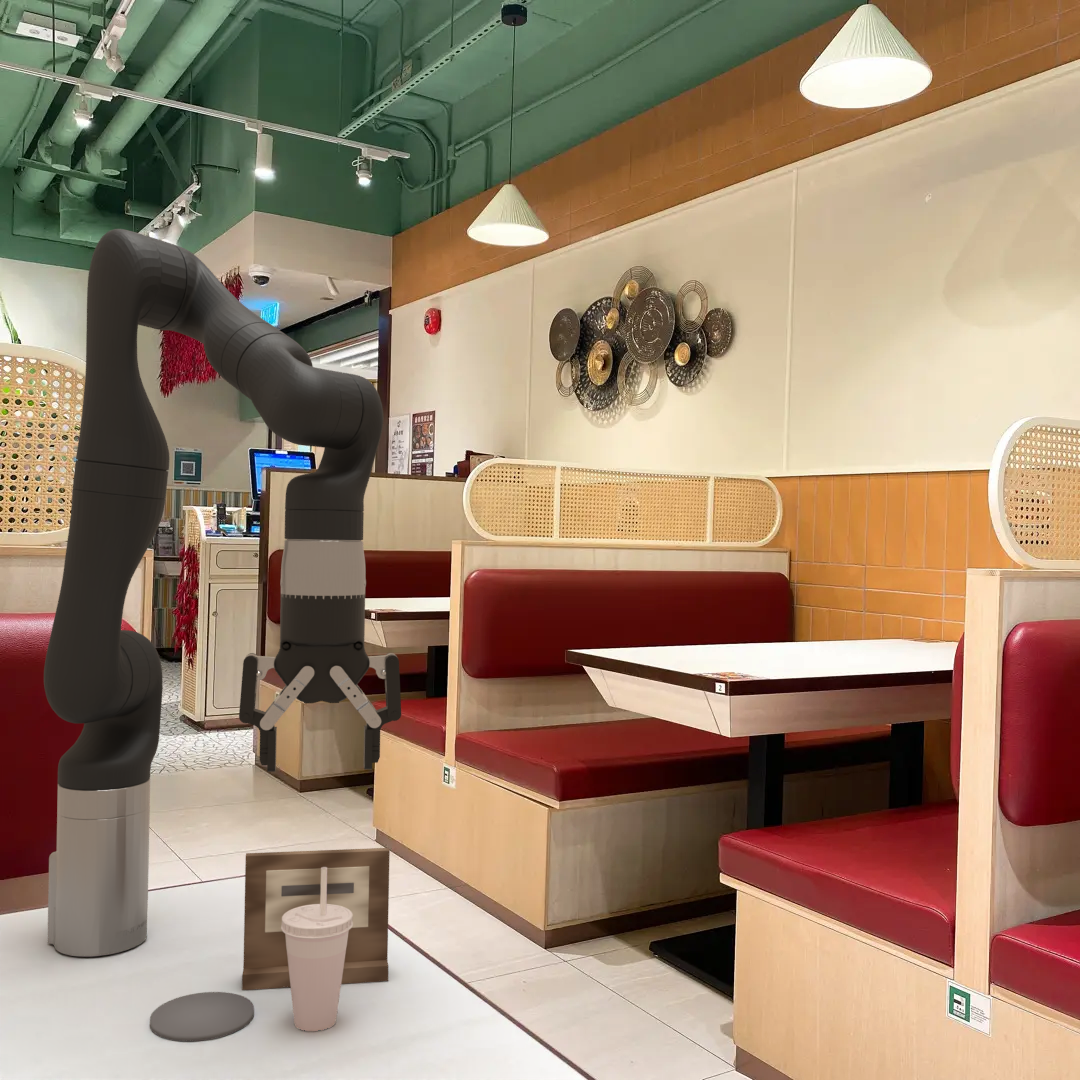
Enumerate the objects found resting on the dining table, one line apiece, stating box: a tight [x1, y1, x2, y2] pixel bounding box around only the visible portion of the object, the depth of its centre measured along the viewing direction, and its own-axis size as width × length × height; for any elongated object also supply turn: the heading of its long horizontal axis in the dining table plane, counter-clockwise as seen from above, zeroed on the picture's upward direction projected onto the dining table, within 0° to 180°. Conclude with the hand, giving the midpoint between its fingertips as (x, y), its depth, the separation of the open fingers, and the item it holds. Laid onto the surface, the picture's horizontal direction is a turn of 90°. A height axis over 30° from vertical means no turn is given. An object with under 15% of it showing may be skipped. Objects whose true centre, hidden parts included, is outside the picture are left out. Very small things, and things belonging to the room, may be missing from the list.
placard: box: [241, 847, 391, 991], centre depth 107 cm, size 14×4×12 cm, turn 102°
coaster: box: [149, 991, 255, 1042], centre depth 97 cm, size 9×9×1 cm
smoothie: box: [281, 867, 353, 1032], centre depth 97 cm, size 6×6×14 cm
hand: (320, 768), depth 97 cm, fingers open, 8 cm apart
